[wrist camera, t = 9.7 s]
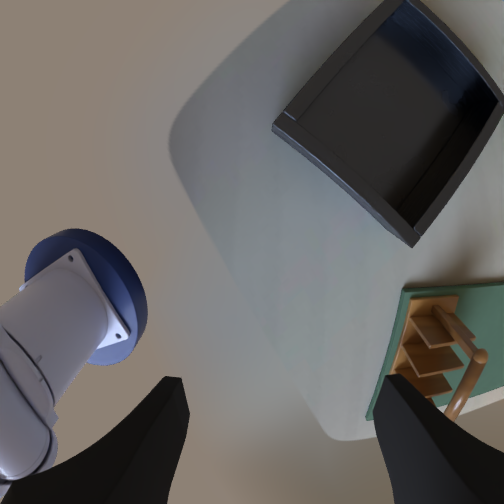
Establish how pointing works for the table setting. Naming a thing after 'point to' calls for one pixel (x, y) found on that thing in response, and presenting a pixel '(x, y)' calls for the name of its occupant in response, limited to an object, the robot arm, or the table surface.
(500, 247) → the table surface
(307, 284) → the table surface
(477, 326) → the drying mat
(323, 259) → the table surface
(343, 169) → the open box
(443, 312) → the dish rack
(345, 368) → the table surface
